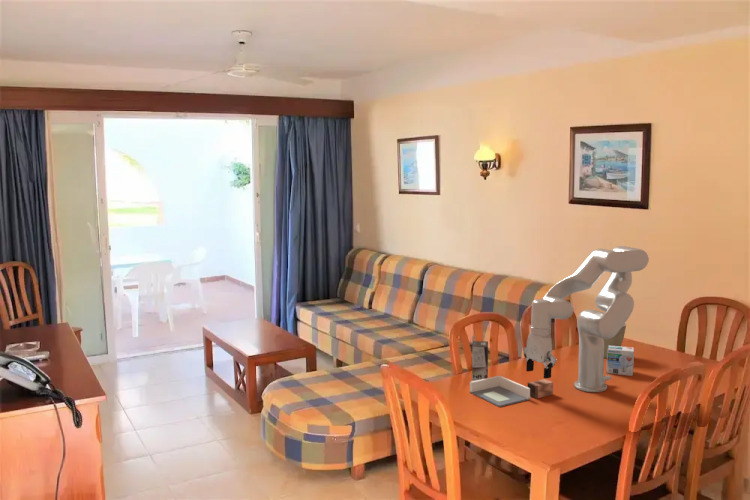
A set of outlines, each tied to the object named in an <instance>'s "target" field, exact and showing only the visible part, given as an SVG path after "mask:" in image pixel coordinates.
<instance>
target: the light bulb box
mask: <svg viewBox="0 0 750 500" xmlns="http://www.w3.org/2000/svg"><path fill="white" fill-rule="evenodd" d="M634 359H635V348H634V347H632V346H631V347H630V346H622V345H621V346H610V345H609V346H608V352H607V358H606V374H609V375H611V374H613V375H620V376H630V377H633V375H634V366H635V365H634V363H635V361H634Z"/></svg>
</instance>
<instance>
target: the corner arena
mask: <svg viewBox="0 0 750 500" xmlns="http://www.w3.org/2000/svg"><path fill="white" fill-rule="evenodd" d="M469 393H470V394H471V395H474V396H475V397H477V398H480V399H482V400H483V401H486V402H488V403H490V404H492V405H494V406H496V407H498V408H501V407H502V408H503V407H505V406H509V405H514V404H517V403H522V402H525V401H530V400H531V397H530V388H528V386H525V385H523V384H521V383H518V382H516V381H514V380H511V379H509V378H507V377H505V376H502V375H499V374H498V375H495V376H491V377H488V378H485V379H481V380H476V381H472V380H471V381H469Z"/></svg>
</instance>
